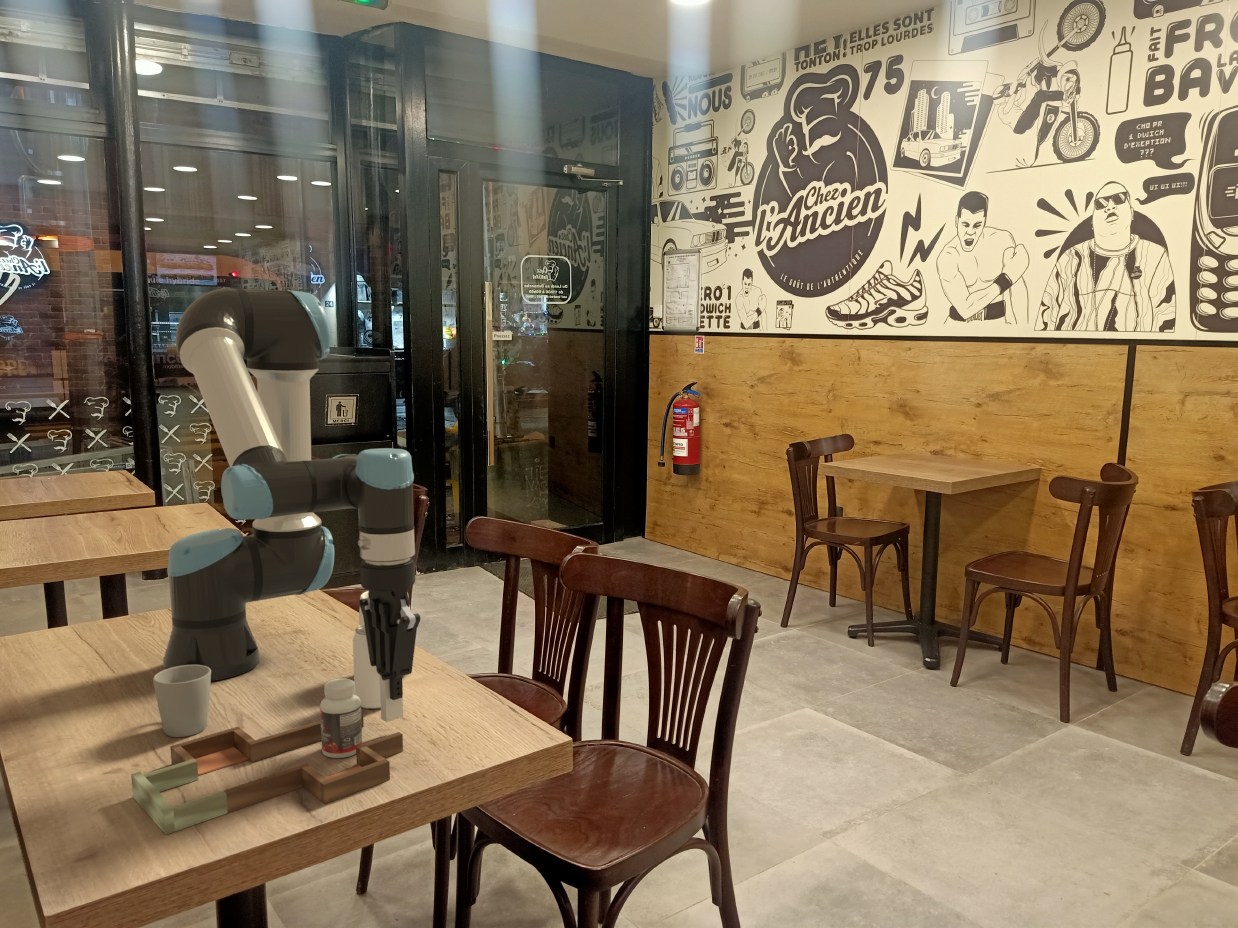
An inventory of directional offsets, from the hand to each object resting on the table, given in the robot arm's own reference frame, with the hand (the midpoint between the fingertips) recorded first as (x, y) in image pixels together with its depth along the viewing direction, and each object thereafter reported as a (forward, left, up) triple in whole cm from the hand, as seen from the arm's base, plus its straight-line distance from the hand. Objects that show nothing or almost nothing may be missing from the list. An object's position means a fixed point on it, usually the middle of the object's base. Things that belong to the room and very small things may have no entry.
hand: (392, 717), depth 131 cm
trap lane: (0, -17, -2) cm, 17 cm away
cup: (-23, -21, -3) cm, 31 cm away
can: (-12, +4, -3) cm, 13 cm away
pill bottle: (0, -8, -3) cm, 8 cm away
